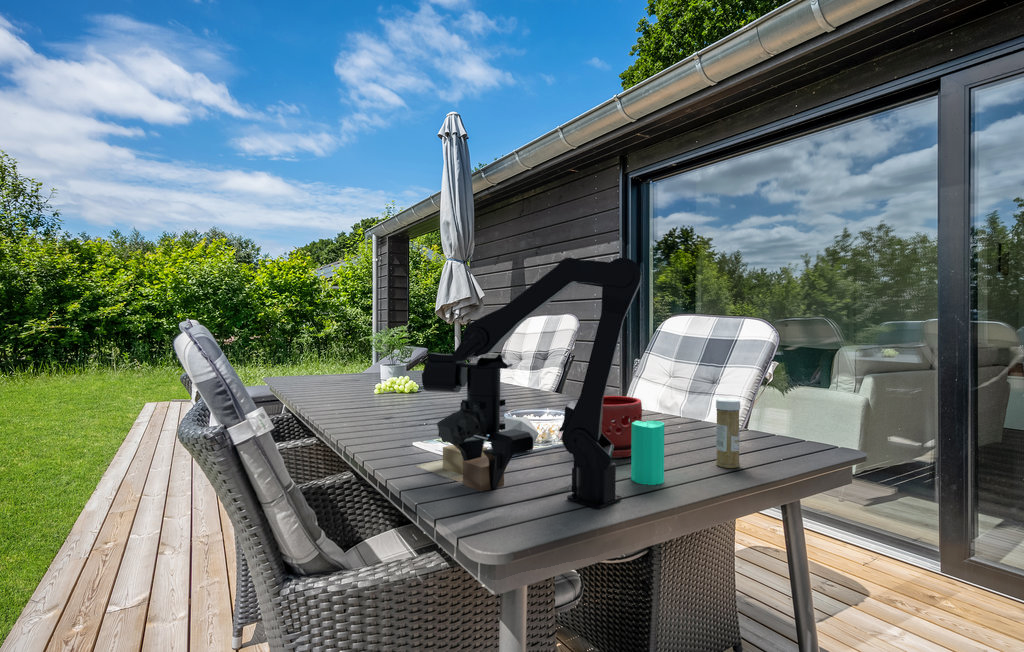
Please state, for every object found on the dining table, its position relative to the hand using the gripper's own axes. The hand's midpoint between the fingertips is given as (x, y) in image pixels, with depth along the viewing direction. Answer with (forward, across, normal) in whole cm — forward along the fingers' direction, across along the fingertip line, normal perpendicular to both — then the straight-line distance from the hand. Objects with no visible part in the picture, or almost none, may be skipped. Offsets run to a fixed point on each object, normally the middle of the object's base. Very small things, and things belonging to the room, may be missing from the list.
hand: (483, 484), depth 91 cm
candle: (+1, +16, +26) cm, 31 cm away
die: (+1, -14, +22) cm, 26 cm away
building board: (+1, -11, +4) cm, 12 cm away
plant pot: (+1, 0, +37) cm, 37 cm away
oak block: (0, -10, +4) cm, 11 cm away
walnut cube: (+1, 0, 0) cm, 1 cm away
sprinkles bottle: (+1, +22, +46) cm, 51 cm away
